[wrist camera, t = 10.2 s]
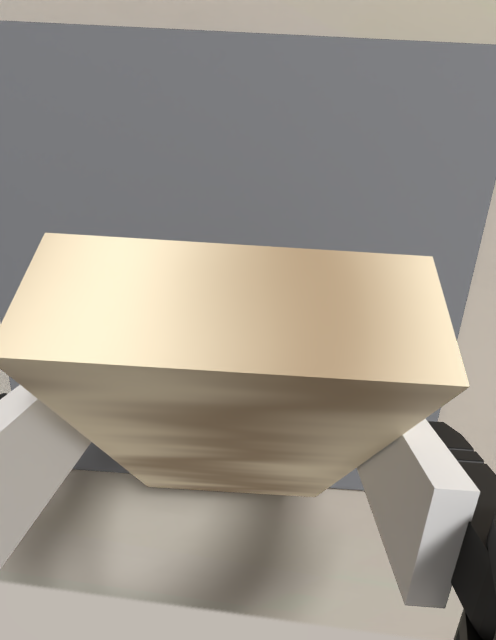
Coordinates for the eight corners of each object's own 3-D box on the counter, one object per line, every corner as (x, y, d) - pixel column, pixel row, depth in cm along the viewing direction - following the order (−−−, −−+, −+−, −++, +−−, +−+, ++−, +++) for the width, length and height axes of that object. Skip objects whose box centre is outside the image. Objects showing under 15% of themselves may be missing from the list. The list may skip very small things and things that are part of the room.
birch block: (147, 486, 15) (-16, 356, 5) (158, 427, 17) (45, 232, 7) (315, 497, 15) (469, 386, 5) (312, 436, 17) (432, 256, 7)
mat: (26, 461, 18) (23, 465, 18) (-40, 22, 13) (-47, 18, 12) (417, 489, 18) (419, 494, 18) (521, 50, 12) (528, 46, 12)
